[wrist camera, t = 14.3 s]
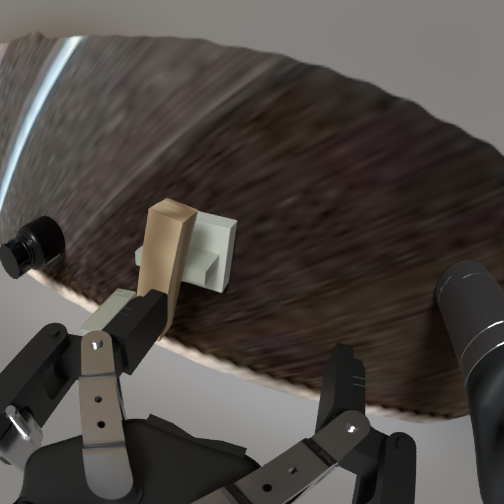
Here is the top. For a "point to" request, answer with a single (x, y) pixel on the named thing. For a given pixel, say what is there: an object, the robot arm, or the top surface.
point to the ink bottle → (32, 247)
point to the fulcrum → (208, 252)
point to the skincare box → (107, 310)
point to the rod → (166, 251)
